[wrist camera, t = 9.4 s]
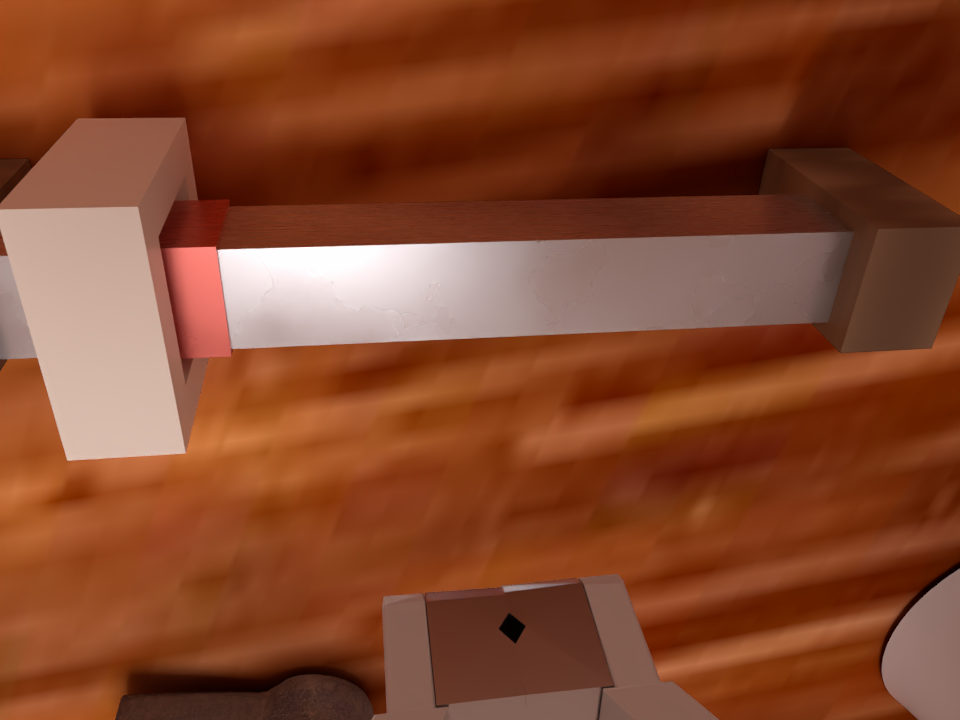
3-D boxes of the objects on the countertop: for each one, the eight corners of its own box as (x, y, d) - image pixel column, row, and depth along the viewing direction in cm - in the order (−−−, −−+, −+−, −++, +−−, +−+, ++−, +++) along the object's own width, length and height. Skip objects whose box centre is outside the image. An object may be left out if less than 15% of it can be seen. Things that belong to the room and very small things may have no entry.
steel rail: (862, 186, 27) (922, 226, 24) (836, 278, 29) (889, 326, 26) (-78, 206, 23) (-134, 256, 20) (-42, 311, 25) (-90, 371, 22)
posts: (848, 148, 29) (977, 226, 23) (820, 252, 31) (931, 348, 26) (-78, 160, 25) (-204, 260, 19) (-39, 280, 27) (-142, 402, 21)
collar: (185, 117, 25) (137, 206, 19) (217, 324, 28) (185, 453, 22) (77, 118, 24) (-6, 209, 18) (123, 328, 28) (67, 460, 22)
